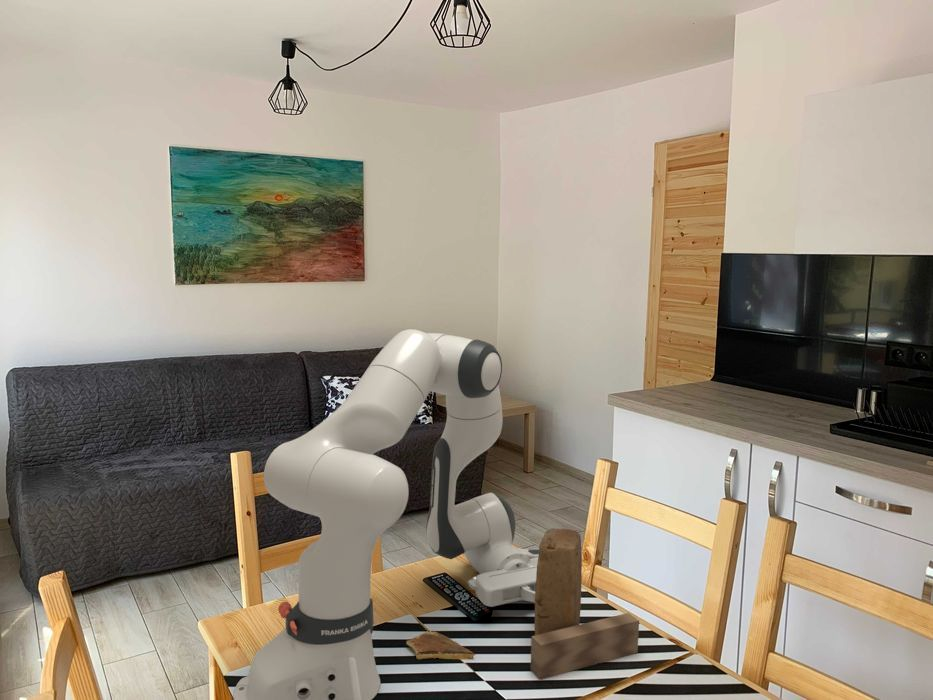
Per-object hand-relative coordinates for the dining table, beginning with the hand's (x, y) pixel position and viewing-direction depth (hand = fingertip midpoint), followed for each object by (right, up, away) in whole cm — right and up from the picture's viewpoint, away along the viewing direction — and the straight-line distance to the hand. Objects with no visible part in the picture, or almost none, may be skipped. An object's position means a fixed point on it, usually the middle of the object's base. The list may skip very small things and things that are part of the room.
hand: (546, 600), depth 133 cm
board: (+6, -7, -11) cm, 14 cm away
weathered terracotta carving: (+2, -6, -4) cm, 7 cm away
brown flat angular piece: (-19, -6, -7) cm, 22 cm away
